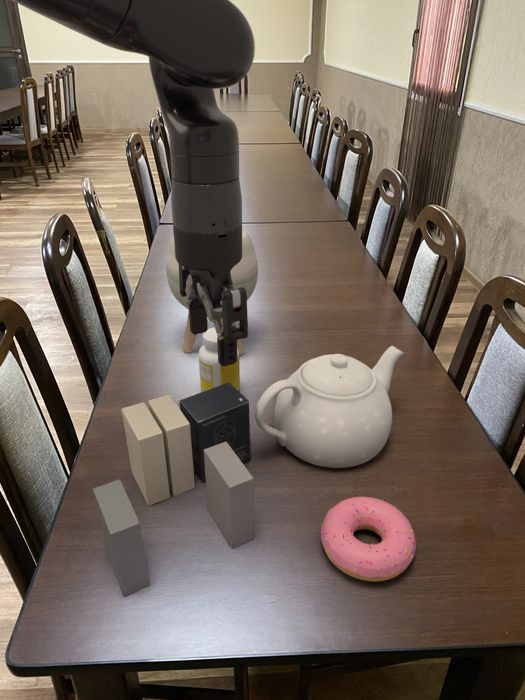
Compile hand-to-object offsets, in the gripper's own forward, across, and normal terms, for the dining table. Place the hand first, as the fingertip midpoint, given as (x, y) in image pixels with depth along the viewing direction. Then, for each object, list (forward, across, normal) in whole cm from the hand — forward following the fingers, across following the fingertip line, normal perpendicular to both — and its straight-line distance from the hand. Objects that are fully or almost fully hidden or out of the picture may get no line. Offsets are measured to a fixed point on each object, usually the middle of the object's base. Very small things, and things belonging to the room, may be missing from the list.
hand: (212, 347), depth 67 cm
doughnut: (+19, +22, +9) cm, 30 cm away
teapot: (+19, +3, +17) cm, 26 cm away
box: (+19, 0, 0) cm, 19 cm away
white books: (+19, 0, -8) cm, 20 cm away
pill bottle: (+19, -14, +7) cm, 24 cm away
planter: (+19, -29, +13) cm, 37 cm away
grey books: (+19, +11, -10) cm, 24 cm away
